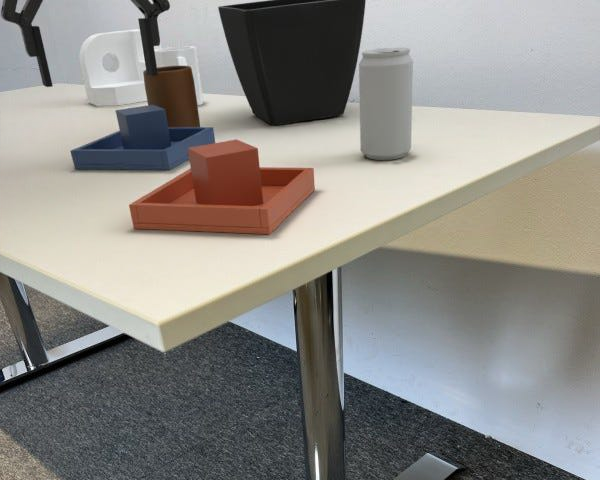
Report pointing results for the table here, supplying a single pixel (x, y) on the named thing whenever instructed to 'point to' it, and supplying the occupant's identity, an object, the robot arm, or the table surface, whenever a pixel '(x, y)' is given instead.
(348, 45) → the flower pot
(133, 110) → the blue block
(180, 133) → the blue tray
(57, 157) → the table surface
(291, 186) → the terracotta tray
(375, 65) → the beverage can
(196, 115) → the mug
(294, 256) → the table surface
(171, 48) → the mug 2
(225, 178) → the terracotta block
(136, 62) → the tape dispenser
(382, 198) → the table surface
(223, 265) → the table surface
